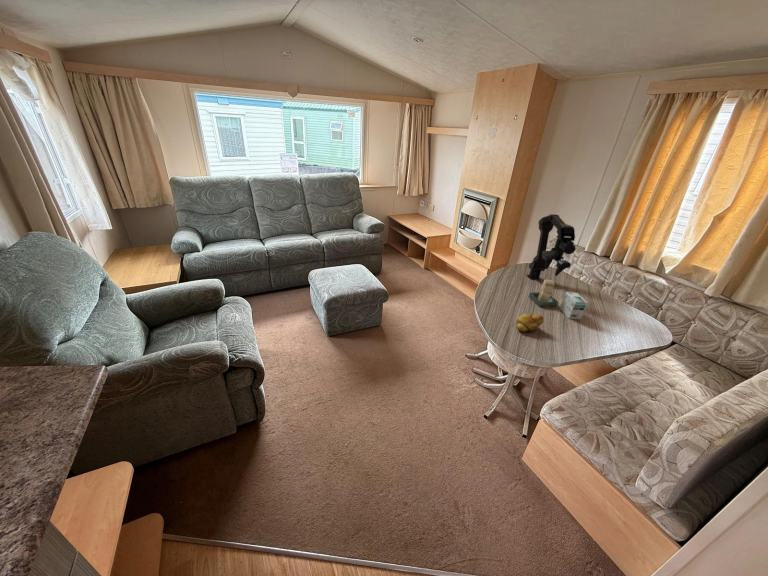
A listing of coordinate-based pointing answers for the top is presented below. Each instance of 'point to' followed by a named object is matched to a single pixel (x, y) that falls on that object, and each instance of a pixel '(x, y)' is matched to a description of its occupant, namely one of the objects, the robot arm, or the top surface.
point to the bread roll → (529, 322)
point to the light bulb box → (573, 305)
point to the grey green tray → (550, 303)
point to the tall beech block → (546, 290)
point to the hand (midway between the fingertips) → (550, 272)
